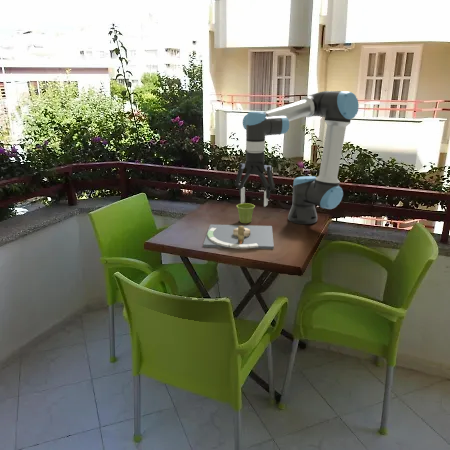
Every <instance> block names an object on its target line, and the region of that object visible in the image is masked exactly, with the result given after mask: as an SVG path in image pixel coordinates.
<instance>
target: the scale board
mask: <svg viewBox="0 0 450 450" xmlns="http://www.w3.org/2000/svg"><path fill="white" fill-rule="evenodd" d="M238 226H244V228H248V229H250V236H248V237H244V242H242V244H239V243H240V242H238V237H236V236H234V235H233V230H234V229H236V228H238ZM273 235H274V234H273V226H272V225H250V224H249V225H248V224H247V225H246V224H209V227H208V229H207V233H206V236H205V238H204V241H203V244H202V247H203V248H222V247H223V248H226V249H227V248H228V249H258V250H259V249H260V250H262V249H263V250H275V249H274V248H275V245H274V236H273Z"/></svg>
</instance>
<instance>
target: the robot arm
mask: <svg viewBox="0 0 450 450" xmlns="http://www.w3.org/2000/svg"><path fill="white" fill-rule="evenodd" d="M359 108H360V105H359V99H358V98H357V95H356V94H355V93H353V92H352V91H346V90H345V91H344V90H337V91H336V90H335V91H334V90H333V91H332V90H331V91H329V90H325V91H319V92H317V93H312V94H309V95H307V96H304V97H302V98H301V99H300V100H298V101H294V102H291V103H288V104H285V105H280V106H277V107H275V108H271V109H268V110H264V111H249V112H247V114H246V115H244V116H243V119H242V127H243V129H244V130H246V132H245V133H246V134H245V135H246V139H245V140H246V141H245V142H246V144H245V150H246V152H245V163H244V162H240V163H239V164H238V171H237V175H236V178H235V181H234V182H235V183H234V186H235V187H237V188H238V194H239V196H240V204H243V203H246V195H245V194H246V187H244V186H245V184H246V183H247V181H248V179H249V177H250V175H256V176H257V175H258V177H259V179H260V180H261V183H262V184H263V186H264V189H265V190H264V191H263V193H264V194H263V207H265V208H266V207H267V206H268V204H269V199H270V198H271V191H273V190H274V189H276V186H275V182H274V178H273V172H272V168H273V166H272V165H267V164H266V163H265V152H264V151H265V148H266V147H265V145H266V137H267V136H275V135H278V136H279V135H284V134H286V133H288V131H289V130H290V122H291V121H295V120H298V119H302V118H304V117H305V118H311V117H323V118H324V122H325V124H326V129H325V137H324V142H323V149H322V154H321V161H320V168H319V172H318V173H319V174H318V176H314V175H307V176H306V175H304V176H298V177H295V178H294V179H293V185H292V205H291V208H290V210H289V211H288V212H289V213H288V214H287V215H288V216H287V219H288V221H289V222H290V223H293V224H298V225H312V224H315V223H317V221H318V213H317V209H316V206H317V207H320V208H322V209H325V210H326V209H327V210H332V209H335V208H337V207H338V205H340V203H341V201H342V200H343V197H344V191H343V188H342V187H341V186H340V183H341V182H340V180H339V178H338V175H339V169H340V164H341V158H342V152H343V146H344V140H345V136H346V129H347V126H348V125H350V124H351V121H352V119H355V117H356V115H357V114H358V111H359ZM245 168H246V172H245V175H244V176H243V172H244V169H245ZM264 169H265V171H266V174H265V172H264ZM265 175H267V178H266V176H265ZM242 176H243V178H242Z"/></svg>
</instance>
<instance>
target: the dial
mask: <svg viewBox="0 0 450 450" xmlns="http://www.w3.org/2000/svg"><path fill="white" fill-rule="evenodd" d="M233 235H234V236H236V237H238V242H240V243H239V244H242V242H244V237H248V236H250V229H248V228H244V226H238V228H236V229H234V230H233Z"/></svg>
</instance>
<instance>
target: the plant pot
mask: <svg viewBox="0 0 450 450" xmlns="http://www.w3.org/2000/svg"><path fill="white" fill-rule="evenodd" d="M255 207H256V205H254V203H253V204H252V203H248V202H247V203H246V202H244V203H243V204H242V203H238V204H236V208H237V212H238V218H239V222H240V223H242V224H249V223H252V218H253V212H254V209H255Z"/></svg>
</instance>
